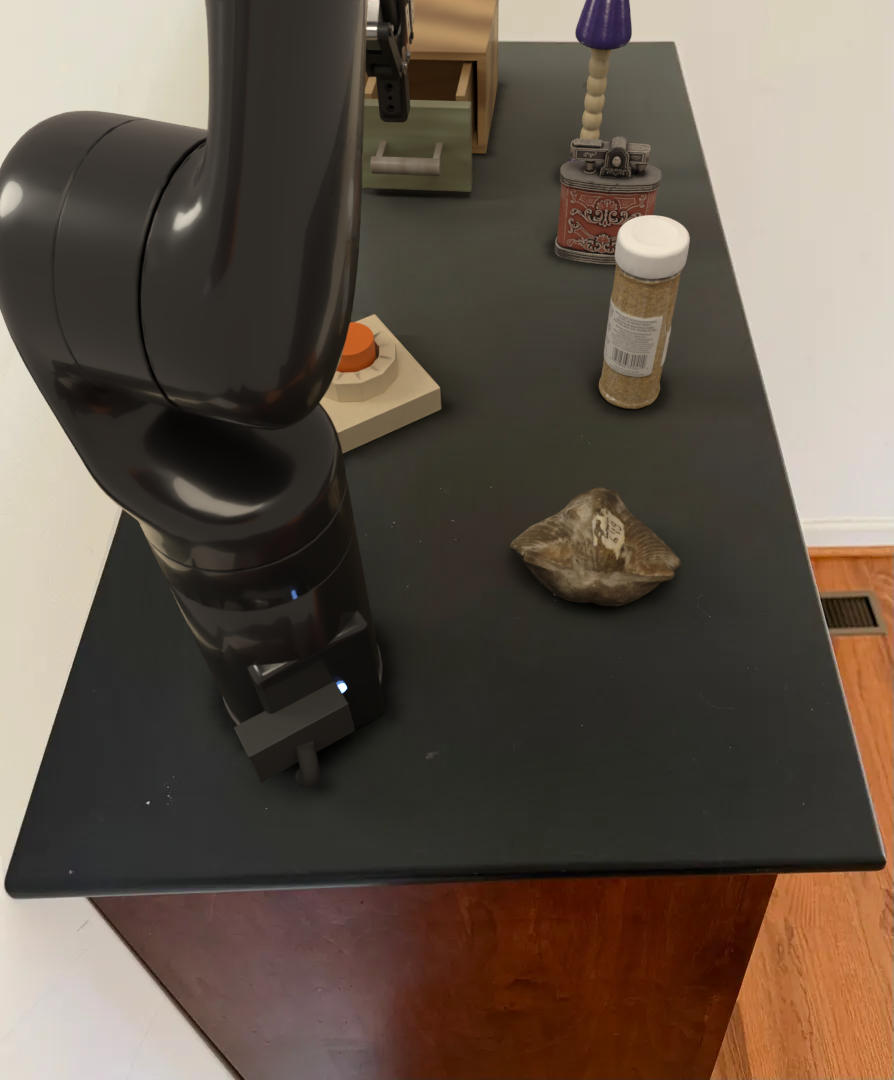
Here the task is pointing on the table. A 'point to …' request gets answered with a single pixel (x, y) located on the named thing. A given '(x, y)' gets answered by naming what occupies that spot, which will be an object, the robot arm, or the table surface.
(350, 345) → the button
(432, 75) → the drawer
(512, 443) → the table surface
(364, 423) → the button block
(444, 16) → the cabinet
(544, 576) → the fossilized seashell
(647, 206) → the lighter
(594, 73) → the toy lamp
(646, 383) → the spice jar
